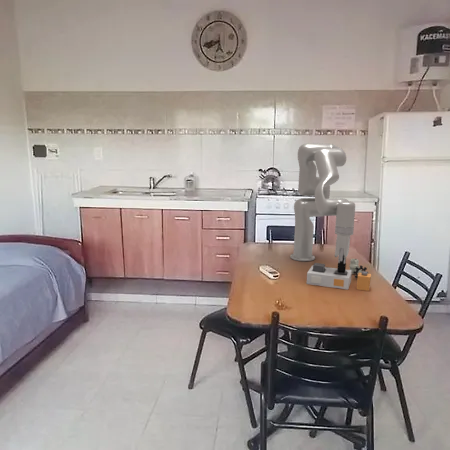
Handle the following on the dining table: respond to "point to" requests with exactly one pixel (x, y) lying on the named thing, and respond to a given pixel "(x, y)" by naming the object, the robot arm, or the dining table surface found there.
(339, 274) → the block
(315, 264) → the breaker
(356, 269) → the valve
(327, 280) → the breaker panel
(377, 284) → the dining table surface
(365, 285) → the lockout cap
